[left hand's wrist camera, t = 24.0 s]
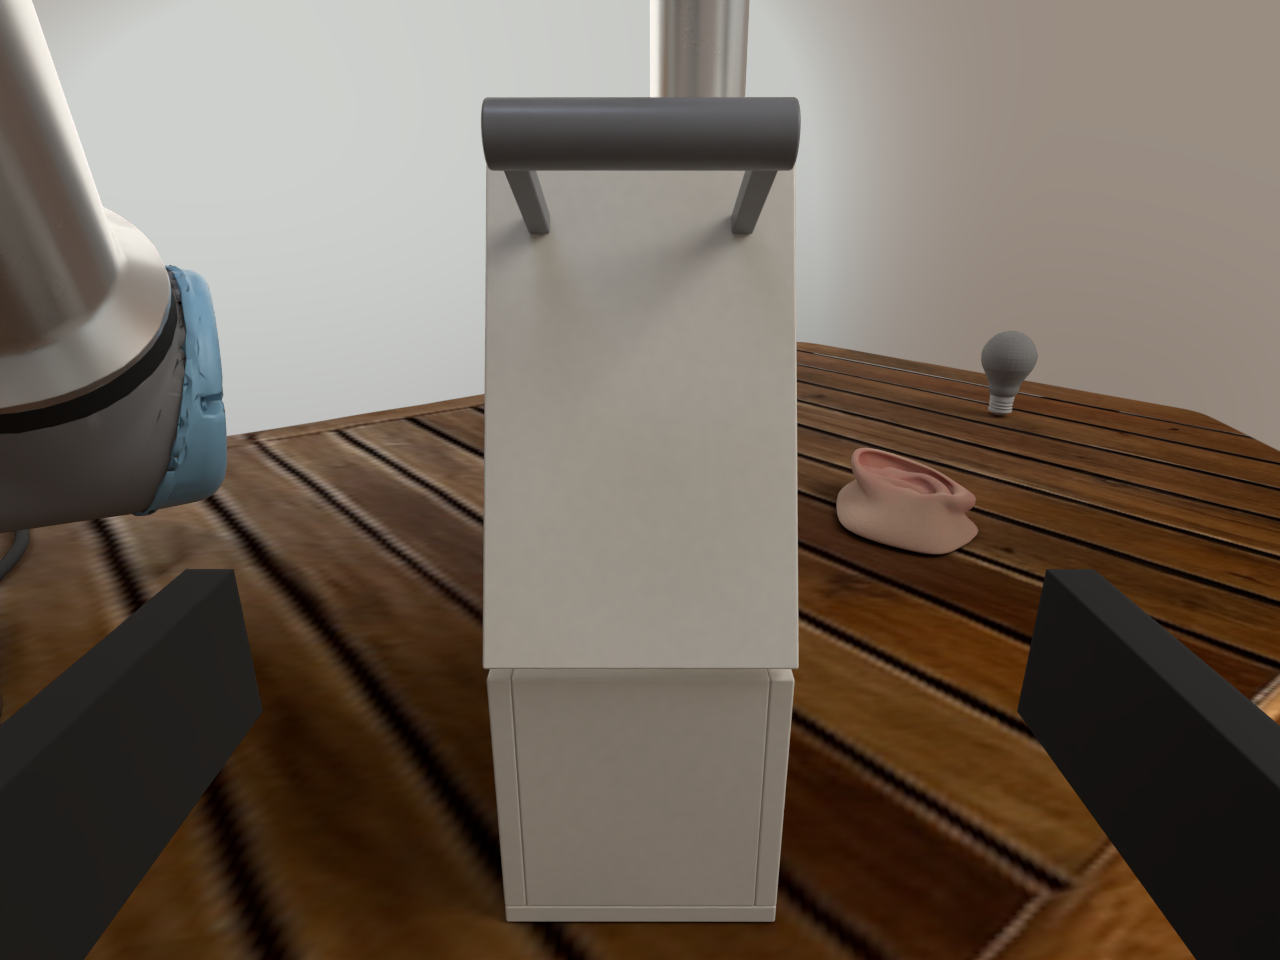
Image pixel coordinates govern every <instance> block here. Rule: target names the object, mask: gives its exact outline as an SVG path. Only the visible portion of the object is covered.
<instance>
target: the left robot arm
mask: <svg viewBox="0 0 1280 960" xmlns="http://www.w3.org/2000/svg"><path fill="white" fill-rule="evenodd" d="M222 397H223V388H222V368H221V358H220V349H219V341H218V334H217V326H216V319H215V313H214V307H213V302H212V297H211V293H210V289H209V286H208V283H207V282H206V280H205V278H204V277H203V276H201V275H200V274H198V273H197V272H195V271H191V270H182V269H179V268H177V267H176V266H171V265H169V266H165V265H164V264H163V262H162V259H161V258H160V256H159V254H158V252H157V250H156V248H155V246H154V245H153V244H152V243H151V242H150V241H149V239H148V238H147V237H146V236H145V235H144V234H143V233H142V232H141V231H140V230H138V229H137V228H136V227H135V226H134V225H132V224H131V223H130V222H128V221H127V220H125V219H124V218H122V217H121V216H119V215H118V214H116V213H114V212H112V211H110V210H108V209H106V208H105V207H103V206H102V203H101V200H100V198H99V195H98V192H97V189H96V186H95V183H94V180H93V177H92V174H91V171H90V168H89V165H88V163H87V160H86V157H85V154H84V151H83V148H82V145H81V142H80V139H79V136H78V133H77V131H76V128H75V125H74V122H73V119H72V116H71V113H70V110H69V107H68V104H67V101H66V99H65V96H64V93H63V90H62V87H61V84H60V81H59V78H58V75H57V72H56V70H55V67H54V64H53V61H52V58H51V55H50V52H49V49H48V46H47V43H46V40H45V38H44V35H43V32H42V29H41V26H40V23H39V20H38V17H37V14H36V11H35V8H34V6H33V3H32V0H0V533H5V532H12V531H15V542H14V544H13V546H12V548H11V549H10V550H9V552H8V553H7V554H6V555H5V557H4V558H3V559H2V560H1V561H0V580H1V579H2V578H3V577H4V576H5V575H6V574H7V573H8V572H9V571H10V570H11V569H12V568H13V567H14V565H15V564H16V563H17V562H18V560H19V559H20V558H21V556H22V555H23V553H24V552H25V550H26V548H27V547H28V544H29V540H30V536H29V529H32V528H39V527H45V526H52V525H59V524H65V523H72V522H78V521H85V520H92V519H99V518H106V517H114V516H121V515H128V514H133V515H135V516H145V515H150V514H152V513H154V512H156V511H157V510H158V509H162V508H167V507H172V506H177V505H182V504H188V503H193V502H197V501H201V500H203V499H205V498H207V497H209V496H211V495H212V494H213V493H215V492H216V491H217V490H218V488H219V487H220V486H221V484H222V482H223V480H224V477H225V473H226V464H227V437H226V420H225V410H224V404H223V402H222ZM2 708H3V702H2V697H1V694H0V716H1V713H2ZM262 712H263V710H262V705H261V700H260V695H259V691H258V686H257V681H256V676H255V671H254V666H253V661H252V656H251V652H250V647H249V642H248V637H247V632H246V627H245V622H244V617H243V613H242V608H241V603H240V598H239V593H238V588H237V583H236V578H235V574H234V569H186V570H185V571H184V572H182V573H181V574H180V575H179V576H178V577H176V578H175V579H174V580H173V581H172V582H170V583H169V584H168V585H167V586H166V587H165V588H163V589H162V590H161V591H160V592H159V593H157V594H156V595H155V596H154V597H153V598H151V599H150V600H149V601H148V602H147V603H146V604H144V605H143V606H142V607H141V608H140V609H138V610H137V611H136V612H135V613H134V614H132V615H131V616H130V617H129V618H128V619H126V620H125V621H124V622H123V623H122V624H121V625H119V626H118V627H117V628H116V629H115V630H113V631H112V632H111V633H110V634H109V635H107V636H106V637H105V638H104V639H103V640H102V641H100V642H99V643H98V644H97V645H96V646H94V647H93V648H92V649H91V650H90V651H88V652H87V653H86V654H85V655H84V656H82V657H81V658H80V659H79V660H78V661H77V662H75V663H74V664H73V665H72V666H71V667H69V668H68V669H67V670H66V671H65V672H63V673H62V674H61V675H60V676H59V677H58V678H56V679H55V680H54V681H53V682H52V683H50V684H49V685H48V686H47V687H46V688H44V689H43V690H42V691H41V692H40V693H39V694H37V695H36V696H35V697H34V698H33V699H31V700H30V701H29V702H28V703H27V704H25V705H24V706H23V707H22V708H21V709H19V710H18V711H17V712H16V713H15V714H14V715H12V716H11V717H10V718H9V719H8V720H6V721H5V722H4V723H3V724H2V725H0V960H84V959H85V957H86V956H87V954H88V953H89V952H90V950H91V949H92V948H93V946H94V945H95V943H96V942H97V941H98V939H99V938H100V936H101V935H102V934H103V932H104V931H105V930H106V928H107V927H108V925H109V924H110V923H111V921H112V920H113V918H114V917H115V916H116V914H117V913H118V911H119V910H120V909H121V907H122V906H123V905H124V903H125V902H126V900H127V899H128V898H129V896H130V895H131V893H132V892H133V891H134V889H135V888H136V886H137V885H138V884H139V882H140V881H141V880H142V878H143V877H144V875H145V874H146V873H147V871H148V870H149V868H150V867H151V866H152V864H153V863H154V861H155V860H156V859H157V857H158V856H159V855H160V853H161V852H162V850H163V849H164V848H165V846H166V845H167V843H168V842H169V841H170V839H171V838H172V837H173V835H174V834H175V832H176V831H177V830H178V828H179V827H180V825H181V824H182V823H183V821H184V820H185V818H186V817H187V816H188V814H189V813H190V812H191V810H192V809H193V807H194V806H195V805H196V803H197V802H198V800H199V799H200V798H201V796H202V795H203V793H204V792H205V791H206V789H207V788H208V787H209V785H210V784H211V782H212V781H213V780H214V778H215V777H216V775H217V774H218V773H219V771H220V770H221V769H222V767H223V766H224V764H225V763H226V762H227V760H228V759H229V757H230V756H231V755H232V753H233V752H234V750H235V749H236V748H237V746H238V745H239V744H240V742H241V741H242V739H243V738H244V737H245V735H246V734H247V732H248V731H249V730H250V728H251V727H252V725H253V724H254V723H255V721H256V720H257V719H258V717H259V716H260V714H261V713H262ZM1017 712H1018V713H1019V714H1020V716H1021V717H1022V719H1023V720H1024V721H1025V723H1026V724H1027V725H1028V727H1029V728H1030V730H1031V731H1032V732H1033V734H1034V735H1035V737H1036V738H1037V739H1038V741H1039V742H1040V744H1041V745H1042V746H1043V748H1044V749H1045V750H1046V752H1047V753H1048V755H1049V756H1050V757H1051V759H1052V760H1053V762H1054V763H1055V764H1056V766H1057V767H1058V769H1059V770H1060V771H1061V773H1062V774H1063V775H1064V777H1065V778H1066V780H1067V781H1068V782H1069V784H1070V785H1071V787H1072V788H1073V789H1074V791H1075V792H1076V793H1077V795H1078V796H1079V798H1080V799H1081V800H1082V802H1083V803H1084V805H1085V806H1086V807H1087V809H1088V810H1089V812H1090V813H1091V814H1092V816H1093V817H1094V818H1095V820H1096V821H1097V823H1098V824H1099V825H1100V827H1101V828H1102V830H1103V831H1104V832H1105V834H1106V835H1107V837H1108V838H1109V839H1110V841H1111V842H1112V843H1113V845H1114V846H1115V848H1116V849H1117V850H1118V852H1119V853H1120V855H1121V856H1122V857H1123V859H1124V860H1125V862H1126V863H1127V864H1128V866H1129V867H1130V868H1131V870H1132V871H1133V873H1134V874H1135V875H1136V877H1137V878H1138V880H1139V881H1140V882H1141V884H1142V885H1143V886H1144V888H1145V889H1146V891H1147V892H1148V893H1149V895H1150V896H1151V898H1152V899H1153V900H1154V902H1155V903H1156V905H1157V906H1158V907H1159V909H1160V910H1161V911H1162V913H1163V914H1164V916H1165V917H1166V918H1167V920H1168V921H1169V923H1170V924H1171V925H1172V927H1173V928H1174V930H1175V931H1176V932H1177V934H1178V935H1179V936H1180V938H1181V939H1182V941H1183V942H1184V943H1185V945H1186V946H1187V948H1188V949H1189V950H1190V952H1191V953H1192V955H1193V956H1194V957H1195V959H1196V960H1280V725H1278V724H1277V723H1276V722H1275V721H1274V720H1272V719H1271V718H1270V717H1269V716H1268V715H1266V714H1265V713H1264V712H1263V711H1262V710H1261V709H1259V708H1258V707H1257V706H1256V705H1255V704H1253V703H1252V702H1251V701H1250V700H1249V699H1247V698H1246V697H1245V696H1244V695H1243V694H1241V693H1240V692H1239V691H1238V690H1237V689H1236V688H1234V687H1233V686H1232V685H1231V684H1230V683H1228V682H1227V681H1226V680H1225V679H1224V678H1222V677H1221V676H1220V675H1219V674H1218V673H1217V672H1215V671H1214V670H1213V669H1212V668H1211V667H1209V666H1208V665H1207V664H1206V663H1205V662H1203V661H1202V660H1201V659H1200V658H1199V657H1198V656H1196V655H1195V654H1194V653H1193V652H1192V651H1190V650H1189V649H1188V648H1187V647H1186V646H1184V645H1183V644H1182V643H1181V642H1180V641H1178V640H1177V639H1176V638H1175V637H1174V636H1173V635H1171V634H1170V633H1169V632H1168V631H1167V630H1165V629H1164V628H1163V627H1162V626H1161V625H1159V624H1158V623H1157V622H1156V621H1155V620H1154V619H1152V618H1151V617H1150V616H1149V615H1148V614H1146V613H1145V612H1144V611H1143V610H1142V609H1140V608H1139V607H1138V606H1137V605H1136V604H1134V603H1133V602H1132V601H1131V600H1130V599H1129V598H1127V597H1126V596H1125V595H1124V594H1123V593H1121V592H1120V591H1119V590H1118V589H1117V588H1115V587H1114V586H1113V585H1112V584H1111V583H1110V582H1108V581H1107V580H1106V579H1105V578H1104V577H1102V576H1101V575H1100V574H1099V573H1098V572H1096V571H1095V570H1094V569H1046V574H1045V578H1044V583H1043V588H1042V593H1041V598H1040V603H1039V608H1038V613H1037V617H1036V622H1035V627H1034V632H1033V637H1032V642H1031V647H1030V652H1029V656H1028V661H1027V666H1026V671H1025V676H1024V681H1023V686H1022V690H1021V695H1020V700H1019V705H1018V710H1017Z"/></svg>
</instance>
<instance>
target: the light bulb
mask: <svg viewBox="0 0 1280 960" xmlns="http://www.w3.org/2000/svg"><path fill="white" fill-rule="evenodd" d="M1037 357H1038V355H1037V349H1036V347H1035V345H1034V343H1033V341H1032V340H1031V339H1030V338H1029V337H1028V336H1027V335H1025V334H1023V333H1020V332H1016V331H1007V332H1002V333H999V334H997V335H995V336H994V337H993V338H991V339H990V340H989V341H988V342H987V344H986V345H985V346H984V348H983V351H982V356H981V361H982V366H983V368H984V371H985V373H986V376H987V378H988V381H989V392H990V400H989V401H990V403H989V405H990V406H989V407H988V410H989V411H991V412H993V413H994V414H996V415H1005V414H1008V413H1011V412H1012V407H1011V406H1012V405H1013V404H1012V402H1014V397H1015V395H1016V394H1017V393H1018V391H1019V387H1020V385H1021V383H1022V382H1023V381H1024V379H1025V378H1026V377H1027V376H1028V375H1029V373H1030V372H1031V371H1032V370H1033V368H1034V366H1035V364H1036V361H1037Z"/></svg>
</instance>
